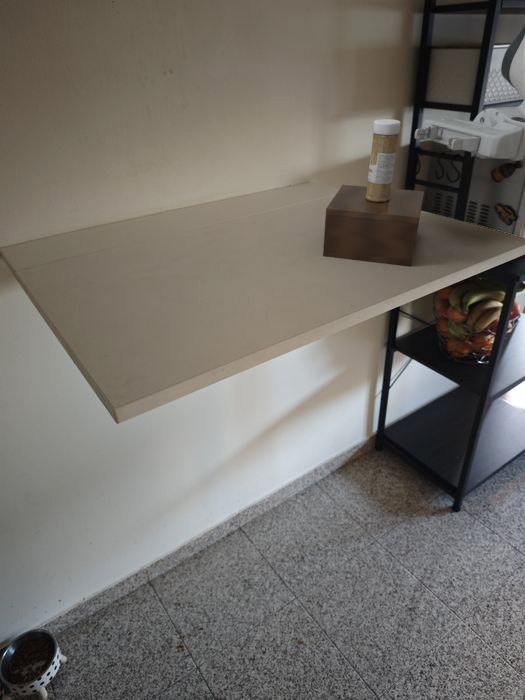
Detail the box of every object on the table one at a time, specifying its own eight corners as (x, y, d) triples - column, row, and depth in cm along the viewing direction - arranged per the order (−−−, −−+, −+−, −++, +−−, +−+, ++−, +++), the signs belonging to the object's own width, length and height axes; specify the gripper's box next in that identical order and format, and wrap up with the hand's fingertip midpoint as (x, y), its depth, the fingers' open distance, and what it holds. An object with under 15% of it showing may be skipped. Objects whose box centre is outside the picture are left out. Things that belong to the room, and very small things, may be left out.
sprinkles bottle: (364, 195, 94) (372, 118, 87) (388, 195, 94) (399, 118, 87) (366, 202, 91) (374, 122, 83) (391, 203, 90) (402, 122, 83)
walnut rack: (416, 235, 102) (424, 191, 97) (410, 266, 89) (419, 217, 84) (339, 227, 106) (342, 184, 101) (322, 255, 93) (326, 208, 88)
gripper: (459, 107, 101) (401, 112, 97) (540, 123, 85) (476, 129, 81) (452, 141, 104) (397, 146, 100) (530, 162, 88) (467, 170, 84)
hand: (433, 139), depth 90 cm, fingers open, 8 cm apart
